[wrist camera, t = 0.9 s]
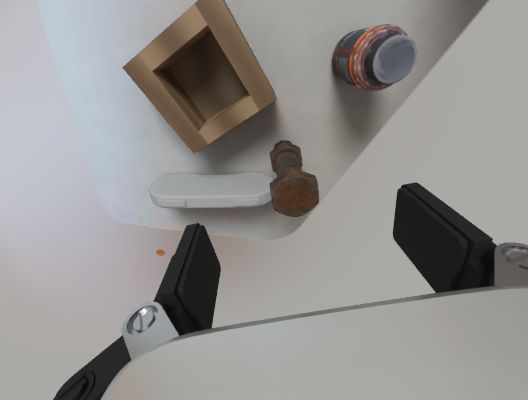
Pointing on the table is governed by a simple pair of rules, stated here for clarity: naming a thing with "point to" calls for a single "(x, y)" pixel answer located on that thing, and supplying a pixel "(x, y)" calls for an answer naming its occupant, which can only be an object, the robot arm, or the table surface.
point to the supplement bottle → (374, 57)
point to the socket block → (202, 74)
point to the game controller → (211, 190)
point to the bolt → (291, 182)
